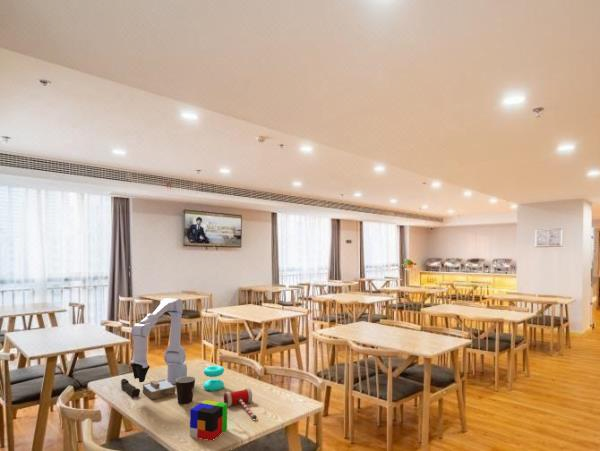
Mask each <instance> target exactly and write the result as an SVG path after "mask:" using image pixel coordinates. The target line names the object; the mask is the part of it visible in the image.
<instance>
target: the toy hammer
mask: <svg viewBox="0 0 600 451" xmlns="http://www.w3.org/2000/svg"><path fill="white" fill-rule="evenodd" d="M252 401H253V392H252V390H251V388H250V387H246V388H244V389H243V390H242V389H241V390H235V391H231V392H230V391H229V390H228V391H225V392H224V394H223V403H227V408H230V407H232V406H234V405H239V404H241V406H242V407H243V408H244V409H245V411H247V413H248V414H249V416H250V417H251V420H253V419H256V418H257V419H258V417H257V415H256V414H254V413H253V411H251V409H250V408H249V407H248V405H247V404H250V403H249V402H251V403H252ZM247 402H248V403H247Z"/></svg>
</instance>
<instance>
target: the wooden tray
mask: <svg viewBox="0 0 600 451" xmlns="http://www.w3.org/2000/svg"><path fill="white" fill-rule="evenodd" d="M165 380H166V379H161V380H157V381H156V380H155V381H156V382H160V381H165ZM146 384H151V382H147V383H143V384H142V393H143V394H144V395H145V396H146V397H147V398H149V399H150V400H152V401H153V400H154V401H155V400H158V399H162V398H163V399H164V398H166V397H171V396H174V395H176V389H177V388H176V385H173V386H174V387H170V388H165V389H161V390H157V391H152V393H151V392H150V391H149V390H147V389H146V388H145V387H143V385H146Z"/></svg>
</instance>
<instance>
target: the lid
mask: <svg viewBox="0 0 600 451" xmlns="http://www.w3.org/2000/svg"><path fill="white" fill-rule="evenodd" d="M164 380H165V381H160V380H159V381H160V382H156V380H150V383H151V384H147V383H145V384H146V385H143V384H142V388H143V387H145V388H146V389H147V390H149V391H150V392H151V393H152V391H157V390H161V389H165V388H170V387H174V386H175V385H174V384H170V383H169V382H167V381H166V379H164Z"/></svg>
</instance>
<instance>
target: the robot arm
mask: <svg viewBox="0 0 600 451" xmlns="http://www.w3.org/2000/svg"><path fill="white" fill-rule="evenodd" d="M183 307H184V302H183V300H182V299H181V298H167V297H163V298H162V299H161V300H160V301H159V305H158V306H157V307H156V309H155V310H154V311H153V312H152V313H148V314H146V316H145V317H143V319H142V320H141V321H140V322H139V323H136V324H134V325H132V328H131V330H130V334H131V336H132V340H133V349H132V350H133V352H132V353H133V354H132V360H130V364H129V365H130V367H131V369H132V373H133V378H134V379H136V380H137V379H138V381H139V382H138V383H144V382H145V380H146V377H147V375H148V371H149V369H150V365H149V364H148V363H149V362H148V358H147V355H148V354H147V352H148V349H147V348H148V347H147V346H148V336H149V335H150V334H151V333H150V332H151V330H152V329H153V327H154V326H155V325H156V324H157V323H158V319H159V318H160V317H161V316H162V315H163V314H165V313H166V312H167V313H168V314H169V315H170V335H169V336H170V337H169V338H170V340H169V346H168V347H166V348H165V353H164V356H163V360H164V362H165V364H166V365H167V376H166V377H167V378H166V379H165V380H166V381H167V382H169V383H170V384H172V385H174V384H175V385H176V379H178V378H180V377H186V376H188V367H187V364H186V362H185V361H186V359H187V358H186V357H187V355H186V348H184V347H183V346H182V345H181V341H182V340H181V338H182V337H181V336H182V334H181V333H182V316H183V315H182V314H183V313H184V312H183V309H184V308H183Z"/></svg>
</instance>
